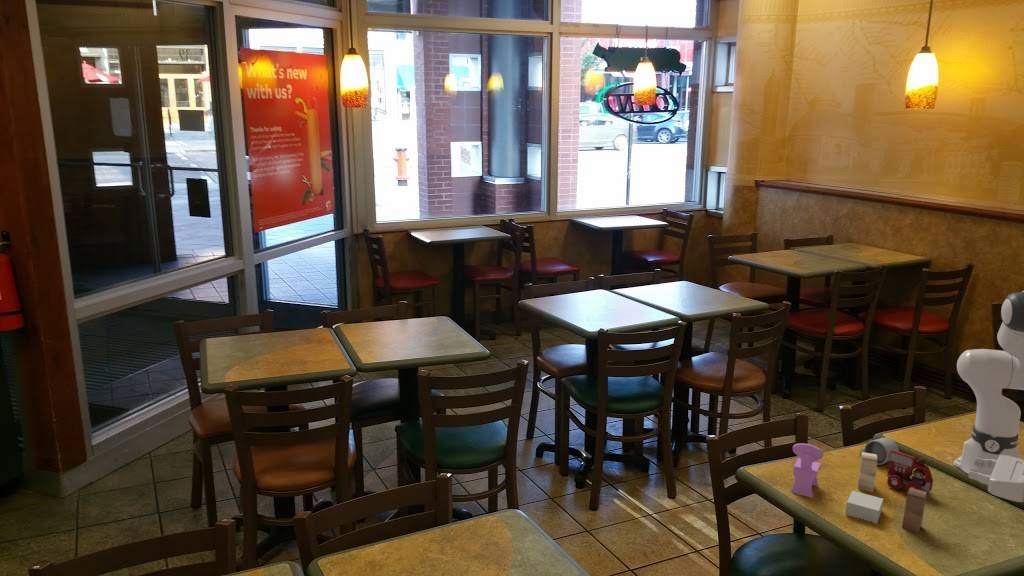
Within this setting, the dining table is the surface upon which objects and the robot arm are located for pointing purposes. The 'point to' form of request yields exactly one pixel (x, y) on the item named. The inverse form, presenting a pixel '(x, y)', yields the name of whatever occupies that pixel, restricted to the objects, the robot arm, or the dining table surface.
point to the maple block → (867, 471)
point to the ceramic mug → (880, 449)
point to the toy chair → (806, 468)
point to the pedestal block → (864, 506)
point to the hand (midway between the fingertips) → (972, 467)
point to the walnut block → (914, 510)
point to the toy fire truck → (908, 472)
